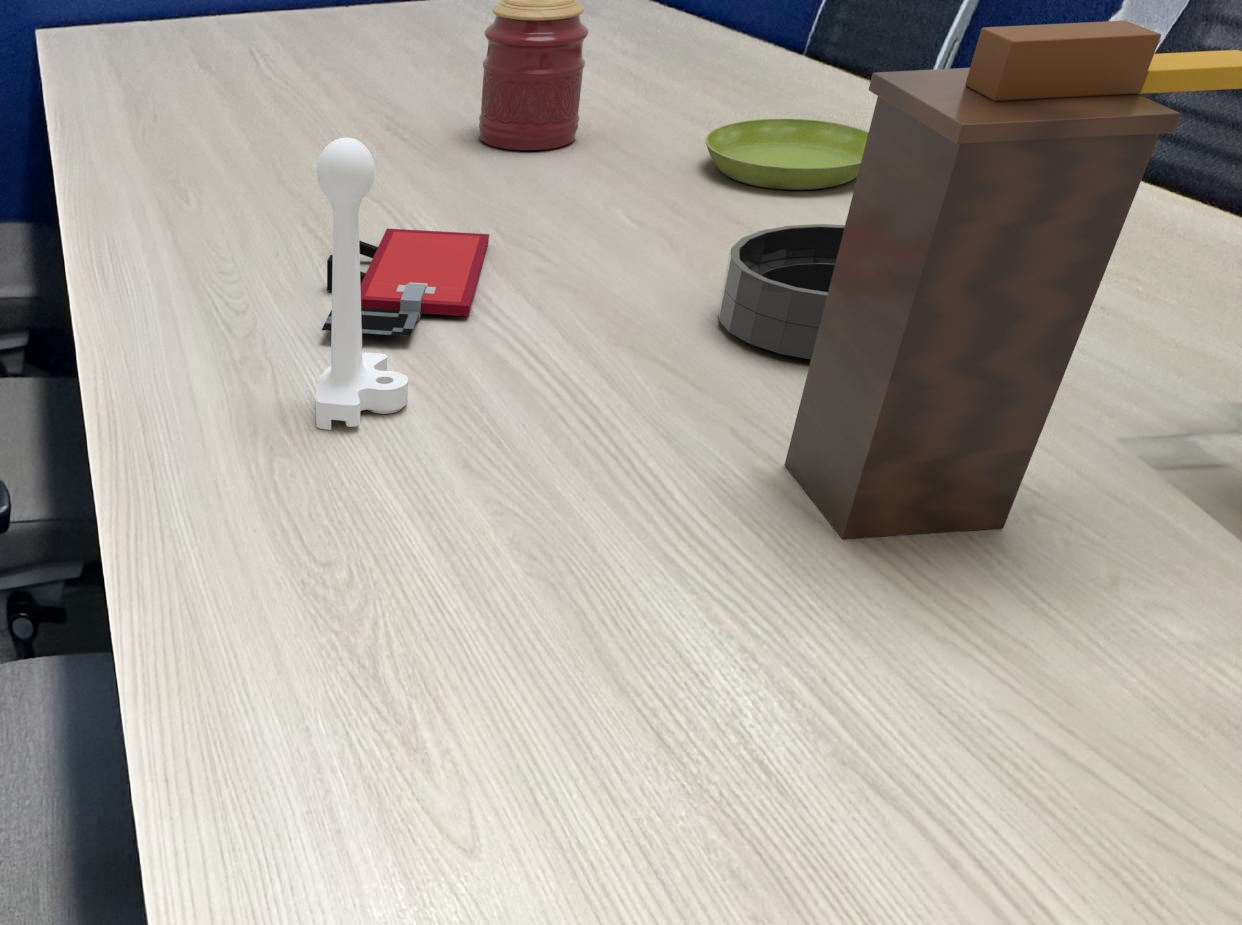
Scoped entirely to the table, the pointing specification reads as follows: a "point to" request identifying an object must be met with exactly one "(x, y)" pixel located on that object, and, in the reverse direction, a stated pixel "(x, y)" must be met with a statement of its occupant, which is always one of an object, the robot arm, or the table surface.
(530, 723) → the table surface
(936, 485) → the stand
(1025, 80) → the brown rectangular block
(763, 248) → the bowl
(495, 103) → the kitchen canister
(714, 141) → the saucer
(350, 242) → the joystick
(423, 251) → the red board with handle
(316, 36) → the table surface
